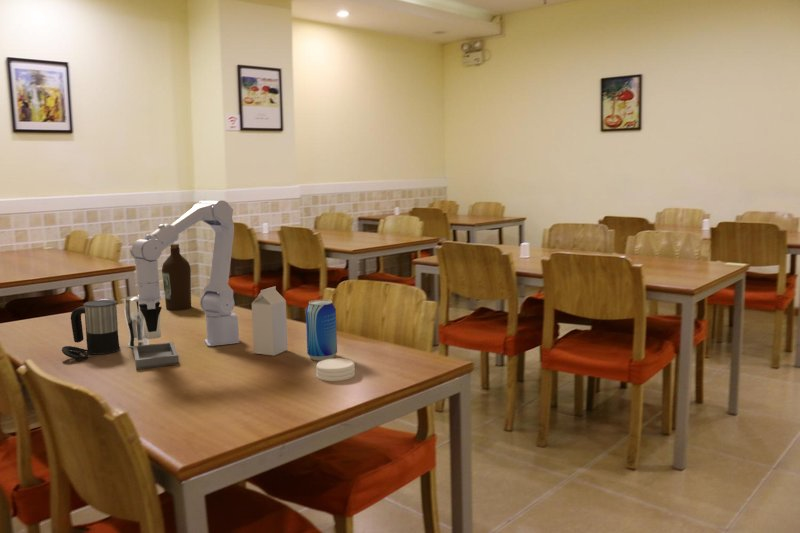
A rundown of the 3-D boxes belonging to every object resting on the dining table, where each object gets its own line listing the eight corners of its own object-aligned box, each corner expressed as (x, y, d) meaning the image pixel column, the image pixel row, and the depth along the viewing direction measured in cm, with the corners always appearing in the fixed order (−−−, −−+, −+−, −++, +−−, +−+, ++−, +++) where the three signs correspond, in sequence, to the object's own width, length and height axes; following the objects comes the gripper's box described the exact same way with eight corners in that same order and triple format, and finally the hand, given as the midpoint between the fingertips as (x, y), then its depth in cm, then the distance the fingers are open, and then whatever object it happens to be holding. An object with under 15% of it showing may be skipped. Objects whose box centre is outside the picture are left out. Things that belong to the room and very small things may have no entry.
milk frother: (124, 345, 206) (120, 298, 204) (111, 360, 190) (107, 309, 188) (74, 348, 203) (70, 301, 201) (58, 363, 188) (53, 311, 186)
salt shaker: (160, 334, 192) (159, 307, 191) (161, 338, 188) (160, 310, 187) (144, 335, 190) (143, 308, 189) (144, 339, 186) (143, 311, 185)
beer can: (324, 362, 184) (323, 306, 182) (301, 358, 189) (299, 303, 187) (343, 355, 192) (341, 300, 189) (320, 351, 196) (318, 298, 194)
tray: (173, 350, 199) (172, 341, 199) (178, 364, 185) (178, 355, 185) (133, 355, 195) (133, 346, 195) (136, 369, 181) (135, 360, 180)
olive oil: (187, 303, 269) (184, 242, 265) (196, 308, 260) (192, 244, 257) (161, 307, 263) (156, 244, 259) (169, 311, 254) (164, 246, 251)
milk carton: (288, 350, 198) (285, 287, 195) (273, 356, 192) (271, 291, 189) (268, 347, 201) (265, 285, 198) (253, 353, 195) (250, 289, 192)
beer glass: (142, 348, 202) (139, 300, 200) (122, 347, 203) (118, 299, 201) (155, 342, 209) (152, 295, 206) (135, 342, 210) (132, 295, 208)
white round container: (319, 370, 178) (319, 357, 178) (356, 370, 178) (356, 357, 177) (313, 382, 168) (313, 369, 168) (353, 382, 168) (352, 368, 168)
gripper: (131, 279, 192) (135, 325, 194) (133, 287, 178) (137, 336, 180) (157, 277, 194) (161, 323, 196) (161, 285, 181) (165, 333, 183)
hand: (151, 329), depth 189 cm, fingers closed on salt shaker, 4 cm apart
